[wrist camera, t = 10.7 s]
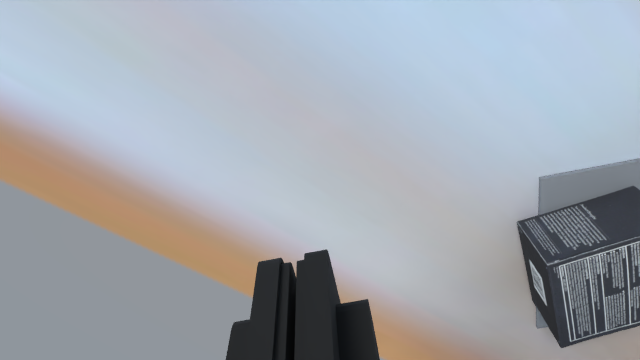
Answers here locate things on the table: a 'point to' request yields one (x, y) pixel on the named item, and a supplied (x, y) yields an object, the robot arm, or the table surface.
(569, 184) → the mat
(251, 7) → the table surface
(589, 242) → the small box
